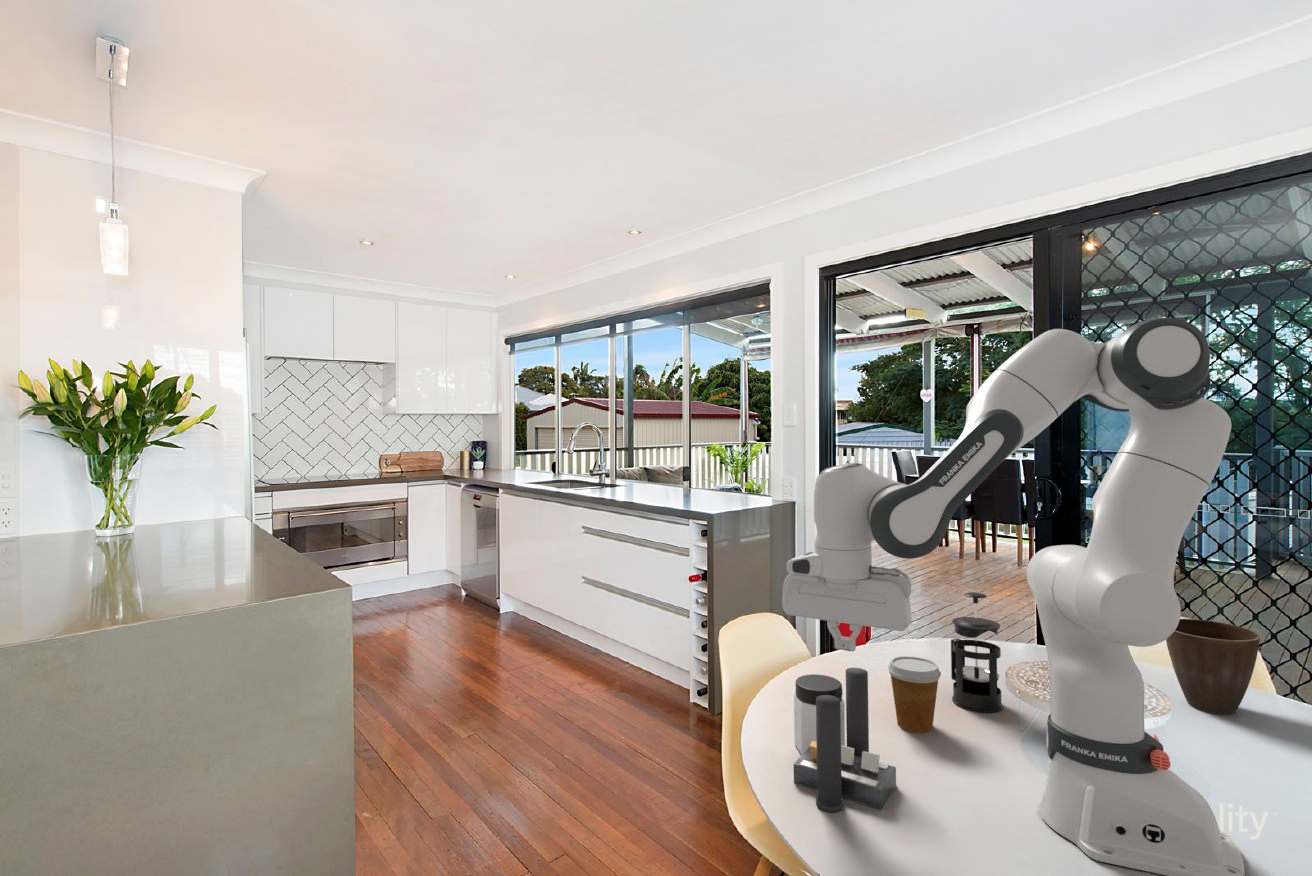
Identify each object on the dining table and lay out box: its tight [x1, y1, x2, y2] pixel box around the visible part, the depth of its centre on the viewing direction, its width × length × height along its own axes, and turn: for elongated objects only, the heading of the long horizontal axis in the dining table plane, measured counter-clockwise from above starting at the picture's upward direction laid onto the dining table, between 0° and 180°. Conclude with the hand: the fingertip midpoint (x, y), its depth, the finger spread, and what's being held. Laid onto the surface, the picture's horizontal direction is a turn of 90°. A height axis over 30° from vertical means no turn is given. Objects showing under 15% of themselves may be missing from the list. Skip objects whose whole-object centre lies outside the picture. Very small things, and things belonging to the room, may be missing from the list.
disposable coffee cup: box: [887, 655, 942, 734], centre depth 123 cm, size 10×10×12 cm
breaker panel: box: [793, 747, 897, 811], centre depth 102 cm, size 14×8×3 cm, turn 55°
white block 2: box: [861, 751, 880, 772], centre depth 101 cm, size 2×1×2 cm, turn 55°
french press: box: [950, 591, 1004, 714], centre depth 133 cm, size 12×9×23 cm
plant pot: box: [1165, 618, 1261, 716], centre depth 129 cm, size 15×15×16 cm
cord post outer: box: [815, 695, 844, 814], centre depth 97 cm, size 4×4×16 cm
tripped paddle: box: [810, 741, 817, 759], centre depth 104 cm, size 2×1×2 cm, turn 55°
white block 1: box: [841, 745, 854, 765], centre depth 103 cm, size 2×1×2 cm, turn 55°
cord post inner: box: [845, 667, 870, 757], centre depth 108 cm, size 4×4×16 cm
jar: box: [793, 673, 846, 756], centre depth 114 cm, size 9×8×12 cm
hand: (845, 649), depth 103 cm, fingers closed
